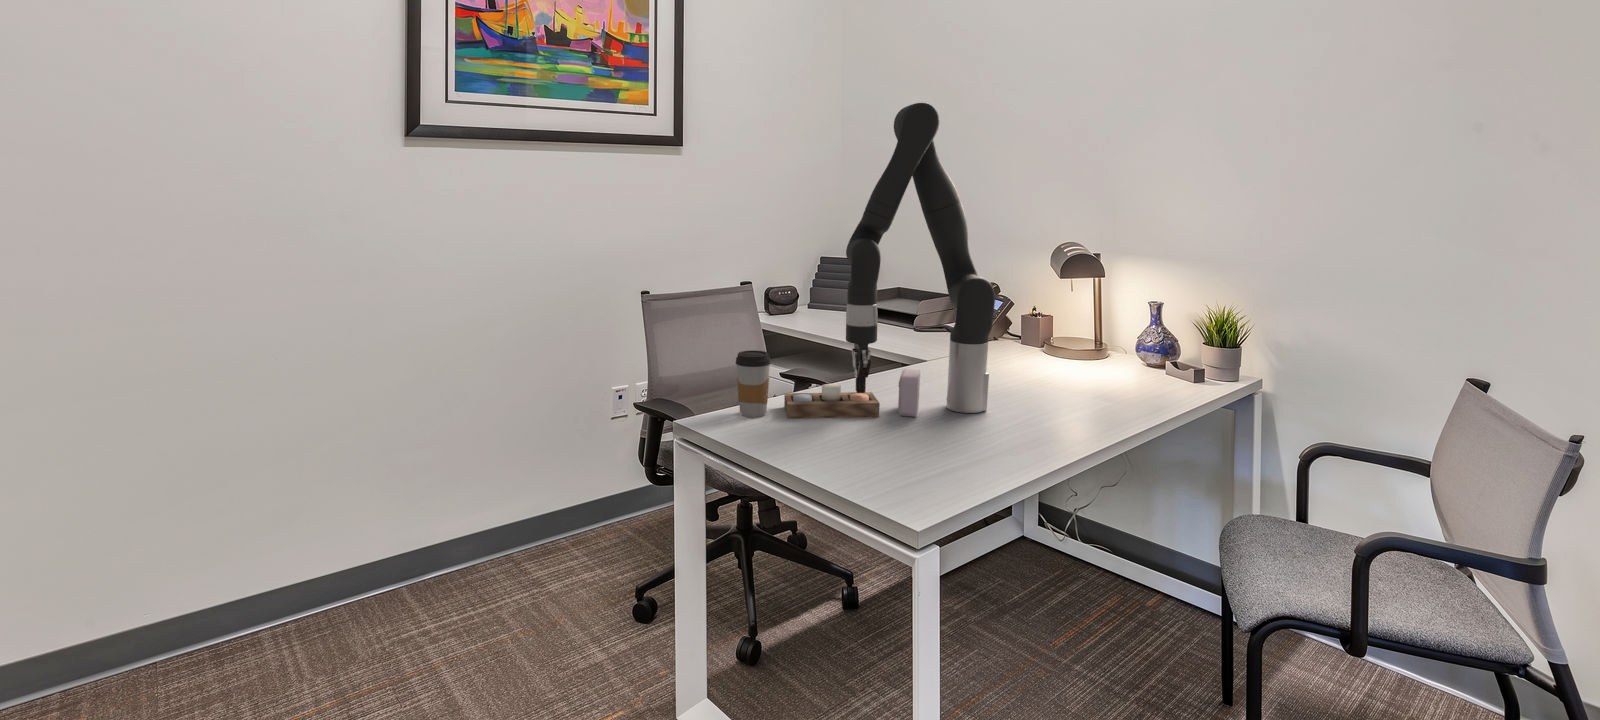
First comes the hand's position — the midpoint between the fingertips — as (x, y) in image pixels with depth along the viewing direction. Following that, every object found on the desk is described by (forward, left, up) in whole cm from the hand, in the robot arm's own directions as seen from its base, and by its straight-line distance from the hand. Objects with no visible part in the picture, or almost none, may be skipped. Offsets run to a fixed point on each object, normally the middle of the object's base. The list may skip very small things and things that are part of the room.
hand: (860, 392), depth 192 cm
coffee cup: (+26, +1, -5) cm, 27 cm away
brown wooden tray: (+7, 0, -5) cm, 9 cm away
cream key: (+7, 0, -2) cm, 7 cm away
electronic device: (-12, +1, -5) cm, 13 cm away
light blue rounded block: (+14, 0, -4) cm, 15 cm away
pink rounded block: (0, 0, -4) cm, 4 cm away
